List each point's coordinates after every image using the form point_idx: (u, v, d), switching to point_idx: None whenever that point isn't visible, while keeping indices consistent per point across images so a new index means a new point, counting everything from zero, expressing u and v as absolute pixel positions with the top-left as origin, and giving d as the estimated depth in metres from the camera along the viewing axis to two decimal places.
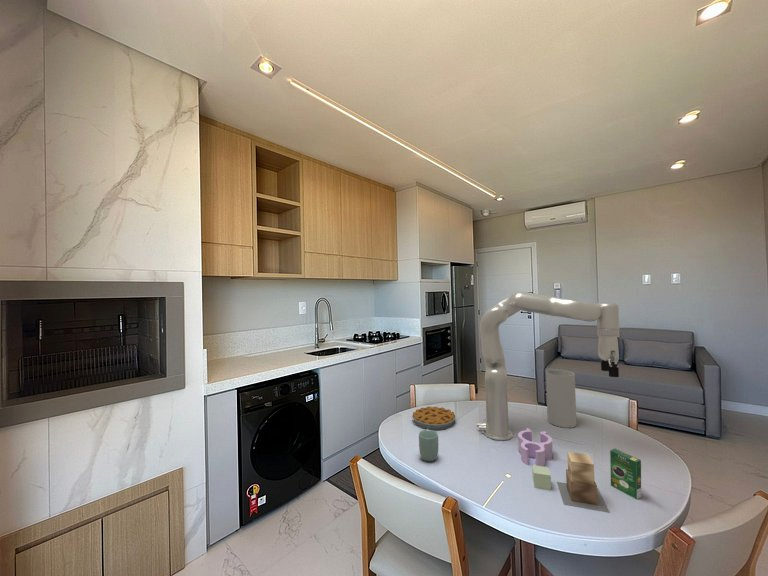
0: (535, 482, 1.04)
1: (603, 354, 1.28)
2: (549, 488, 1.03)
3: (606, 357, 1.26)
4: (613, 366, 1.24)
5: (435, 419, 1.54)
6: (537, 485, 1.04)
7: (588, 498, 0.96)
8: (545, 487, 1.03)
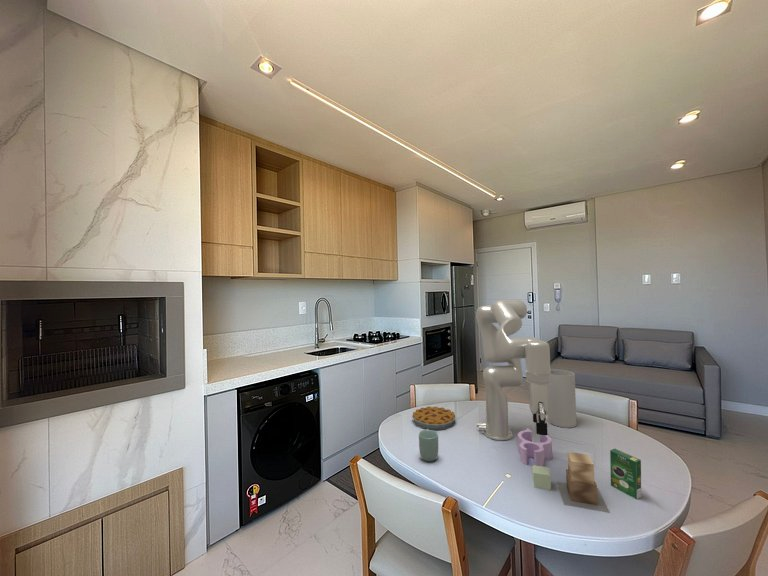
0: (535, 482, 1.04)
1: (531, 405, 1.04)
2: (549, 488, 1.03)
3: (533, 410, 1.02)
4: (540, 421, 1.00)
5: (435, 419, 1.54)
6: (537, 485, 1.04)
7: (588, 498, 0.96)
8: (545, 487, 1.03)
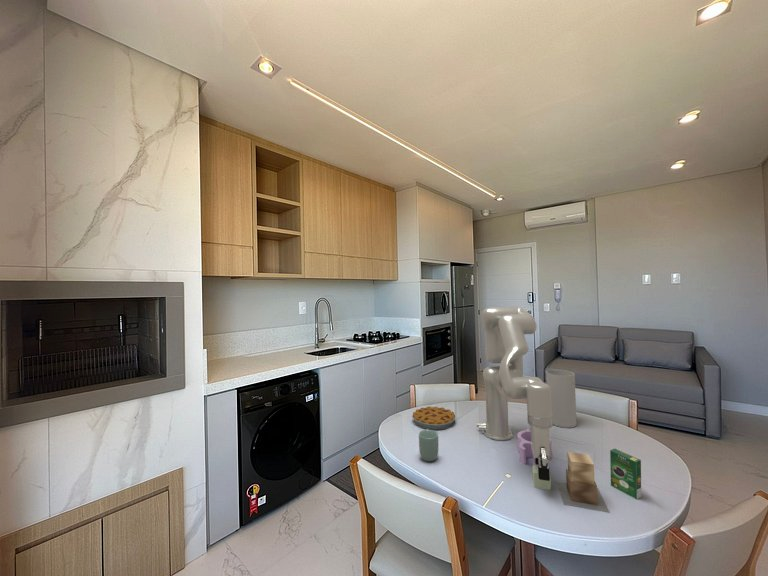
0: (535, 482, 1.04)
1: (532, 449, 1.04)
2: (549, 488, 1.03)
3: (535, 454, 1.02)
4: (542, 467, 0.99)
5: (435, 419, 1.54)
6: (537, 485, 1.04)
7: (588, 498, 0.96)
8: (545, 487, 1.03)
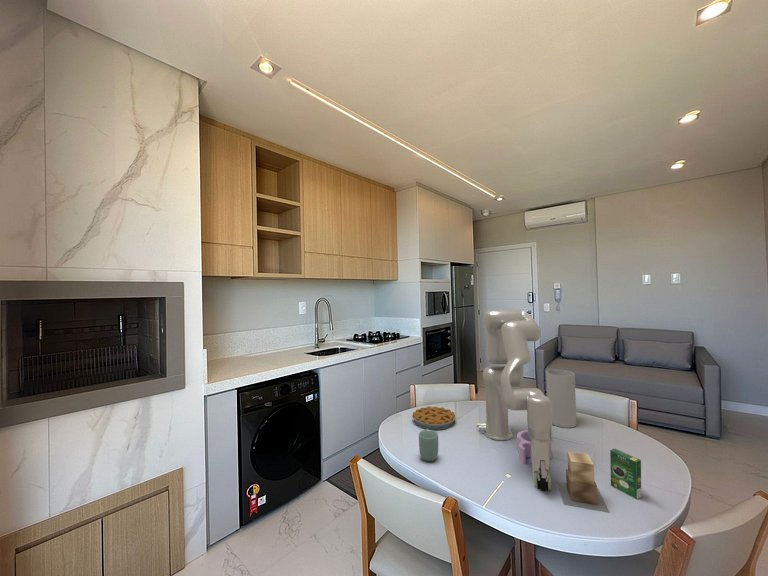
0: (535, 482, 1.04)
1: (532, 461, 1.04)
2: (549, 488, 1.03)
3: (535, 467, 1.02)
4: (541, 480, 1.02)
5: (435, 419, 1.54)
6: None
7: (588, 498, 0.96)
8: None
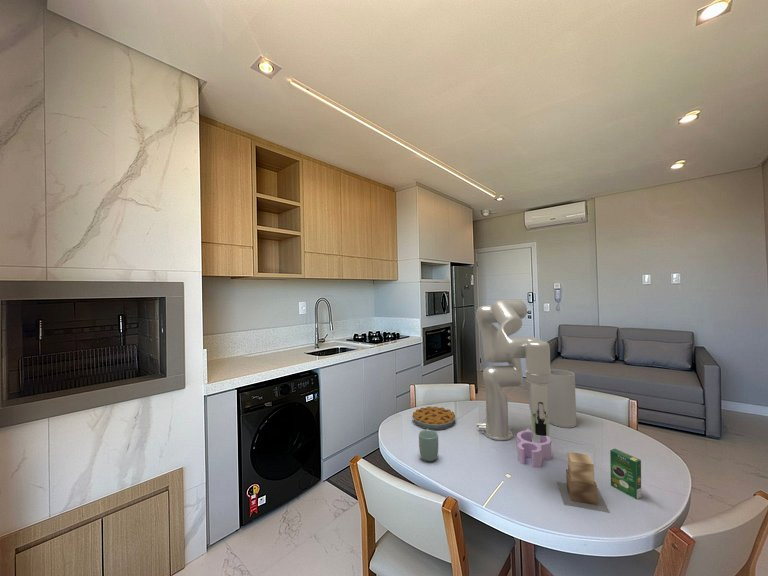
0: (533, 425, 1.04)
1: (530, 405, 1.04)
2: (547, 431, 1.03)
3: (533, 410, 1.02)
4: (539, 422, 1.02)
5: (435, 419, 1.54)
6: None
7: (588, 498, 0.96)
8: None
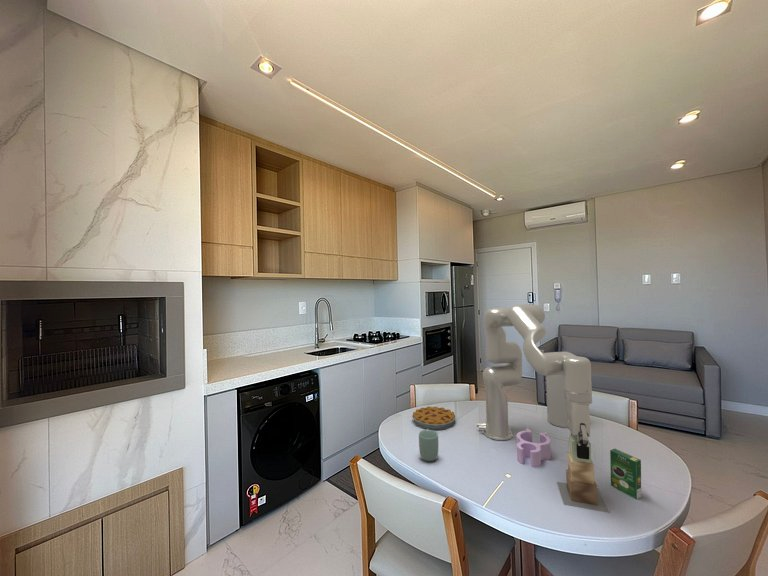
0: (573, 451, 0.98)
1: (571, 426, 0.98)
2: (589, 457, 0.96)
3: (574, 431, 0.96)
4: (581, 445, 0.94)
5: (435, 419, 1.54)
6: (576, 454, 0.98)
7: (588, 498, 0.96)
8: None
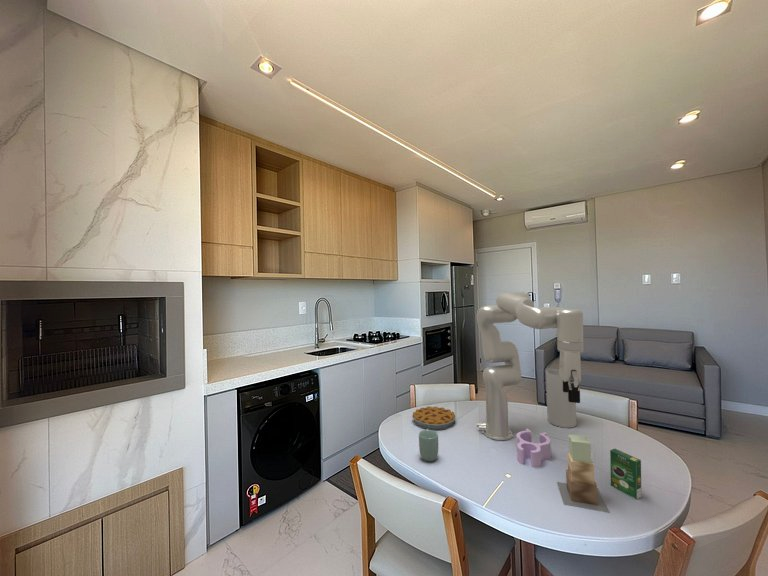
0: (573, 451, 0.98)
1: (562, 373, 1.03)
2: (589, 457, 0.96)
3: (565, 377, 1.01)
4: (573, 389, 0.99)
5: (435, 419, 1.54)
6: (576, 454, 0.98)
7: (588, 498, 0.96)
8: (584, 456, 0.97)
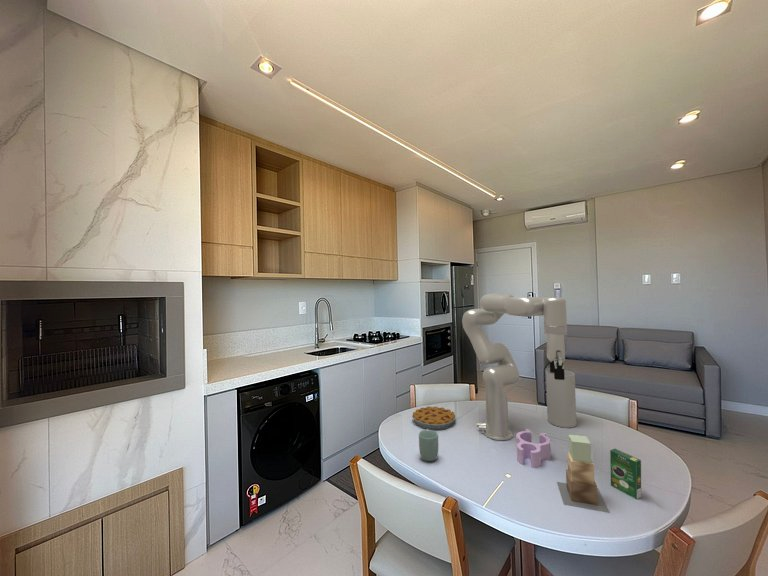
0: (573, 451, 0.98)
1: (549, 354, 1.16)
2: (589, 457, 0.96)
3: (551, 357, 1.14)
4: (558, 367, 1.12)
5: (435, 419, 1.54)
6: (576, 454, 0.98)
7: (588, 498, 0.96)
8: (584, 456, 0.97)
